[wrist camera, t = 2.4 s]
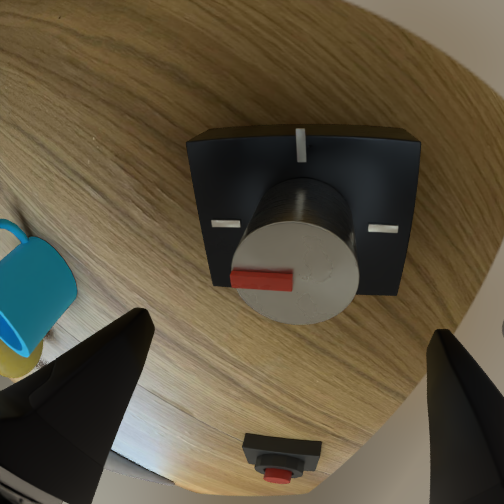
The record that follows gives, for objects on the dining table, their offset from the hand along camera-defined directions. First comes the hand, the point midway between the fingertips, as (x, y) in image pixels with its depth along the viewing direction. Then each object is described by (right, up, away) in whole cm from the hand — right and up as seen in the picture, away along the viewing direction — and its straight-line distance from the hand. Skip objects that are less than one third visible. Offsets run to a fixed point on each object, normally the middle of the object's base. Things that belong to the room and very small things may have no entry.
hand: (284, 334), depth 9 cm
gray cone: (-36, -67, +66) cm, 101 cm away
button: (+3, -27, +24) cm, 36 cm away
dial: (+1, +4, +5) cm, 6 cm away
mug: (-22, +2, +16) cm, 27 cm away
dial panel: (+2, +5, +7) cm, 9 cm away
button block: (+3, -25, +27) cm, 37 cm away
